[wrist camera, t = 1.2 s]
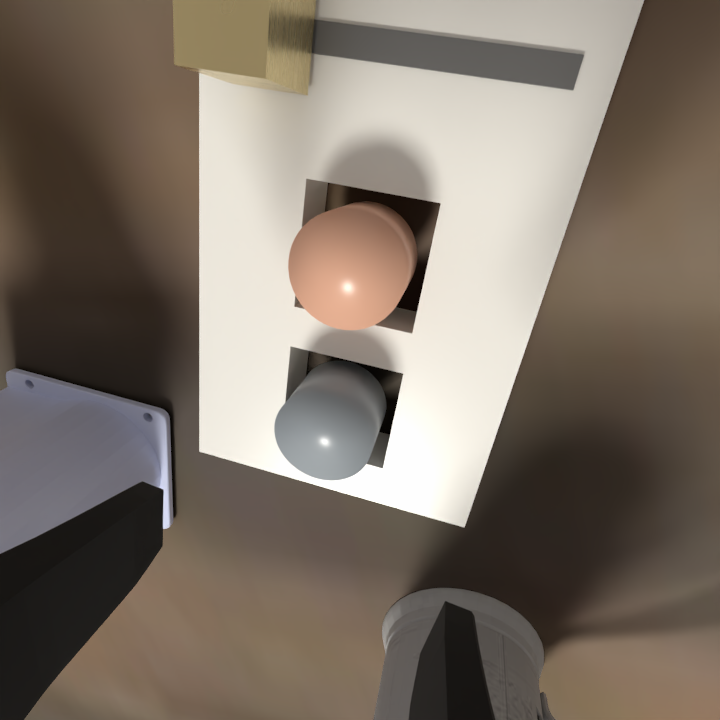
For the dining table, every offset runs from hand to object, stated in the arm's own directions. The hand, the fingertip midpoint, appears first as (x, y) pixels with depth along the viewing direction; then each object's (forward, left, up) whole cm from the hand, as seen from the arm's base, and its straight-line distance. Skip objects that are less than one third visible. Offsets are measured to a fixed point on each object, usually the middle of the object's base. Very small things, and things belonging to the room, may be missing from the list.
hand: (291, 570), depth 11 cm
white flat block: (-1, +6, -10) cm, 12 cm away
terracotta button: (-1, +6, -8) cm, 10 cm away
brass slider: (-4, +12, -7) cm, 15 cm away
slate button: (-1, 0, -8) cm, 8 cm away
